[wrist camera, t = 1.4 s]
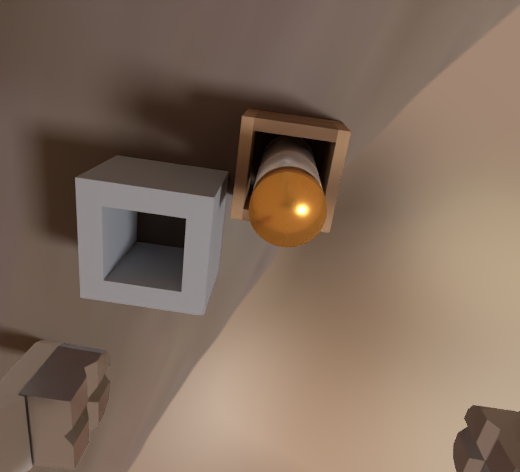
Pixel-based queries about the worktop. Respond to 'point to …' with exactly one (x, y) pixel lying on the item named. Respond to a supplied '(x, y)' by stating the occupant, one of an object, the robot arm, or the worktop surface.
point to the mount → (296, 127)
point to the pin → (287, 194)
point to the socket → (146, 254)
